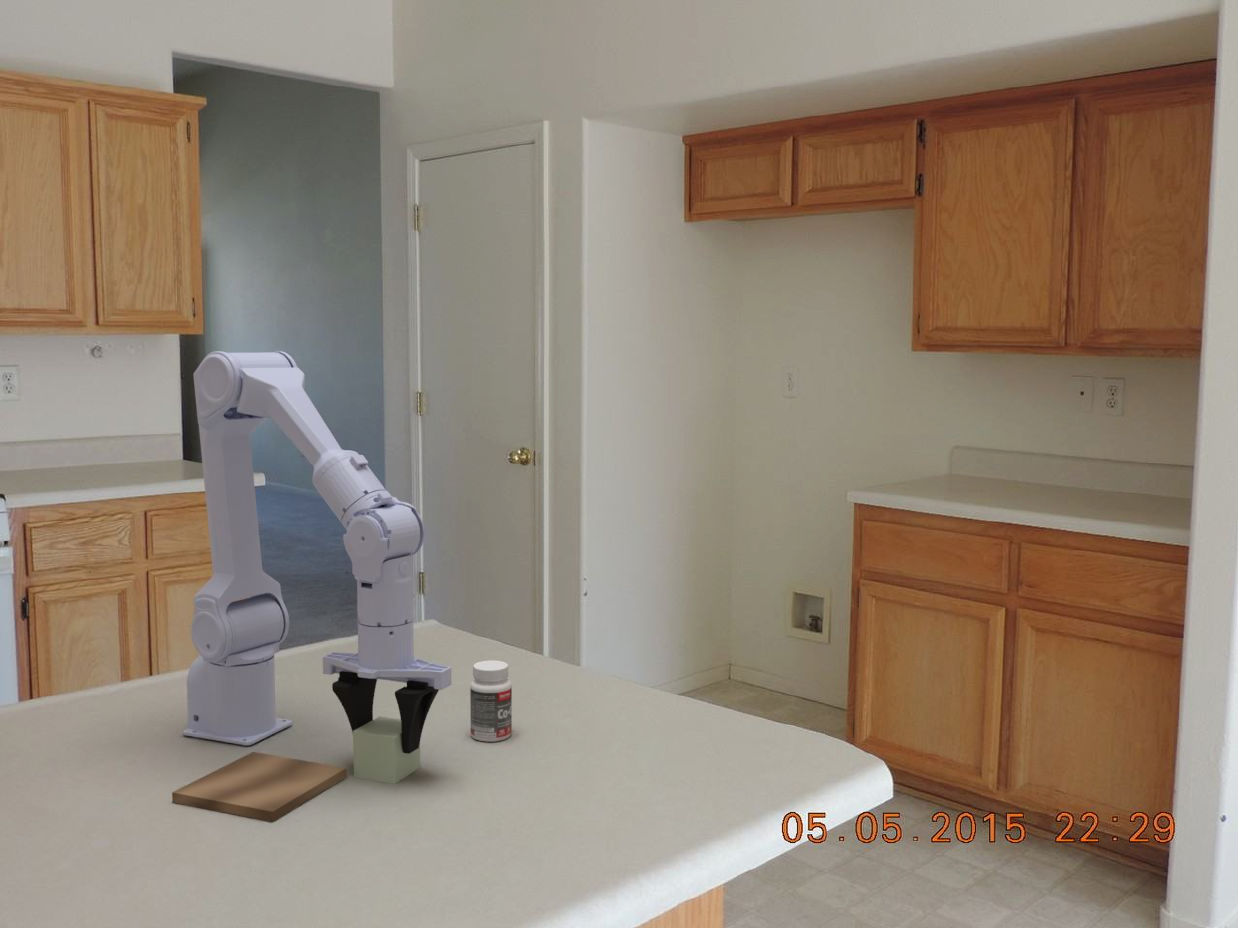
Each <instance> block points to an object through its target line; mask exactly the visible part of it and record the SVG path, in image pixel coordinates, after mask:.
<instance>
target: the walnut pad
mask: <svg viewBox="0 0 1238 928" xmlns="http://www.w3.org/2000/svg"><path fill="white" fill-rule="evenodd" d="M347 778H348V768H347V767H344V766H338V765H333V764H332V765H331V764H326V763H321V762H316V761H315V762H314V761H309V760H303V759H296V758H291V757H285V756H280V755H275V754H267V753H262V752H256V751H252V752H250V753H247V754H246V755H243V756H242V757H240V758H237V759H235V760H234V761H232V762H230V763H227V764H225V765H223V766H222V767H220V768H217V769H216V770H214V771H212V772H210V773H208V774H206V775H204V776H202V777H200V778H198V779H196V780H194V781H192V782H190V783H188V784H186V785H184V786H182V787H180V788H178V789H176V790H174V791H172V792H171V797H172V801H171V802H172V803H175V804H180V805H184V806H190V807H196V808H201V809H205V810H209V811H210V810H211V811H216V812H221V813H226V814H231V815H236V816H241V817H247V818H251V819H255V820H256V819H257V820H261V821H267V822H271V823H272V822H275V821H277V820H279V819H280V818H282V817H284V816H285V815H286V814H288V813H290V812H291V811H293V810H295V809H296V808H298V807H300V806H302V805H303V804H305V803H306V802H308V801H309V800H311V799H313V798H315V797H316V796H318V795H319V794H321V793H323V792H325V791H326V790H327V789H330V788H331V787H333V786H334V785H336V784H337V783H340V782H341V781H343V780H345V779H347Z"/></svg>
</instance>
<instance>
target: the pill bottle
mask: <svg viewBox="0 0 1238 928" xmlns="http://www.w3.org/2000/svg"><path fill="white" fill-rule="evenodd" d="M472 668H473V670H472V676H473V680H471V682H470V689H469V690H470V693H469V694H470V696H469V697H470V699H469V700H470V701H469V702H470V736H471V737H472V738H473V740H476V741H481V742H486V743H487V742H488V743H490V742H491V743H492V742H493V743H494V742H501V741H504V740H507V739H508V738H510V737H511V736H512V727H513V725H512V722H513V721H512V719H513V718H512V710H513V709H512V707H513V705H512V700H513V699H512V695H513V694H512V682H511V680H510V679H508V678H509V664H508V663H507V662H505V661H501V660H482V661H478V662H475V663H474V664H473V666H472Z"/></svg>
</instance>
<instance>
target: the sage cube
mask: <svg viewBox="0 0 1238 928" xmlns="http://www.w3.org/2000/svg"><path fill="white" fill-rule="evenodd" d="M352 748H353V750H352V751H353V755H352V756H353V777H355V778H360V779H367V780H372V781H376V782H382V783H383V782H385V783H389V784H390V783H391V784H396V783H398V782H400V781H401V780H402V779H404V778H406V777H408V776H409V775H410V774H412V773H414V771H416V770H417V769H420V768H421V743H420V744H419V748H418V749H416V750H415V751H413V752H411V753H410V754H407V753H403V749H402V726H401V718H400V719H399V718H395V717H393V718H392V717H386V716H378V717H375V718H373V720H372V721H370V722H369V723H367V724H365V725H363V726H361V727H359V728H358V729H356V730H354V731H353V733H352Z"/></svg>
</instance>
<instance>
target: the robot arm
mask: <svg viewBox="0 0 1238 928" xmlns="http://www.w3.org/2000/svg"><path fill="white" fill-rule="evenodd" d="M193 384H194V395H195V404H196V405H195V406H196V417H197V424H198V432H199V441H200V451H201V462H202V472H203V482H204V485H203V486H204V492H205V502H206V503H205V505H206V515H207V525H208V534H209V546H210V547H209V548H210V555H211V566H212V568H211V569H212V576H211V577H210V578H209V579H208V581H207V582H206V583H204V585H203V586H202V587H201V588H200V589H199V590H198V591H197V593H195V594H194V596H193V607H194V609H193V610H194V611H193V616H192V622H191V627H190V634H191V635H190V636H191V640H192V644H193V646H194V648H195V650H196V651H197V653H198V654H199V656H197V657H196V658H195V659H194V660H193V662H192V663H191V666H189V670H188V673H187V677H186V678H187V679H186V699H187V700H186V702H187V727H188V728H186V729H184V730H183V736H187V737H194V738H200V739H206V740H212V741H217V742H218V741H219V742H223V743H231V744H235V745H243V746H251V745H254V744H255V743H258V742H260V741H262V740H263V739H266V738H268V737H271V736H272V735H274V734H276V733H278V732H279V731H282V730H284V729H286V728H288V727H290V726H292V724H293V721H292V720H290V719H285V718H279V717H276V716H277V715H276V713H277V712H276V710H277V708H276V672H275V671H276V670H275V669H276V667H275V655H276V654H277V653H279V652H280V644H281V643H283V641H284V640H285V639H286V637H287V636H288V634H289V630H290V616H289V612H288V610H287V607H286V605H285V603H284V599H283V595H282V587H281V583H280V582H278V581H277V580H275V579H274V578H273V577H271V576H270V575H269V574H267V573H266V572H265V571H264V570H263V564H262V551H261V543H260V532H259V531H260V530H259V519H258V518H259V517H258V509H257V497H256V488H255V476H254V467H253V455H252V447H251V446H252V445H251V444H252V443H251V436H252V434H253V433H254V431H255V430H257V428H258V427H259V426H260V424H261V423H263V422H264V421H265V420H268V419H271V420H272V421H274V423H275V424H276V425H277V426H278V427H279V429H280V430H281V431H282V432H283V433H284V434H285V435H286V437H287V438H288V439H289V440H290V442H292V443H293V445H294V446H295V447H296V448H297V449H298V451H299V452H300V453H301V454H302V456H304V457H305V459H306V460H307V461H308V462H309V463H310V465H311V466H313V473H312V479H311V480H312V485H313V486H314V488H315V489H316V491H317V492H318V494H319V495H320V496H321V498H322V499H323V500H324V501H325V503H326V504H327V505H328V507H329V508H330V510H331V512H332V513H333V514H334V515H335V517H336V518H337V519H338V520H339V522H340V523H341V525H342V526H343V527H344V529H345V530H346V533H345V534H342V540H343V545H344V548H345V551H346V553H347V555H348V556H349V558H350V561H351V565H352V567H351V568H352V572H351V573H352V575H354V576H353V577H354V579H355V580H356V590H357V591H356V592H357V593H356V598H357V599H356V600H357V605H356V606H357V609H356V610H357V653H356V652H338V651H332V652H330V653H327V654H326V655H323V656H322V674H323V675H329V676H331V675H334V674H337V675H338V676H339V677H338V678H337V679H338V680H337V681H334V682H333V683H332V686H331V688H332V689H331V690H332V691H333V693H334V694H335V696H336V697H337V699H338V701H339V702H340V704H341V706H342V708H343V710H344V712H345V714H346V716H347V720H348V722H349V726H350V729H351V733H352V734H353V731H354V730H356V729H358V728H359V727H361V726H363V725H365V724H367V723H369V722H370V721H372V720H374V712H373V711H374V710H373V709H374V699H375V692H376V686H377V682H378V680H381V681H382V680H383V681H391V682H396V683H404V684H405V683H406V686H403V687H401V688H399V689H397V690H395V691H394V697H395V699H396V703H397V706H398V710H399V715H400V719H401V726H402V749H403V753H407V754H410V753H411V752H413V751H415V750H416V749H418V748H419V744H420V745H421V737H422V734H423V729H424V726H425V723H426V720H427V716H428V713H429V712H430V709H431V707H432V704H433V702H434V700H435V698H436V697H437V694H438V693H439V691H443V690H444V689H446V688H448V687H450V686H451V685H452V666H447V665H441V664H437V663H434V662H430V661H429V660H424V659H420V658H417V657H414V655H415V654H414V653H415V652H414V651H415V650H414V649H415V648H414V647H415V646H414V642H415V641H414V556H415V554H418V552H419V551H420V550H421V548H422V546H423V543H424V541H425V526H424V522H423V519H422V517H421V516H420V514H419V513H418V510H417V508H416V507H415V506H413V504H411V503H409V502H405V501H400V500H399V499H398V498H397V497H396V496H392V494H391V493H390V492H389V491H387V489H386V488H385V487H384V485H383V484H382V483H381V481H380V480H379V479H378V478H377V476H376V475H375V473H374V472H373V470H372V469H371V468H370V467H369V466H368V465H369V461H368V460H367V459H366V457H365V456H364V455H363V454H359V452H357V451H354V450H350V449H349V450H347V449H346V450H345V449H342V447H341V446H340V445H339V443H338V441H337V440H336V438H335V436H334V435H333V434H332V433H333V432H331V430H330V429H329V427H328V426H327V424H326V422H325V421H324V419H323V417H322V416H321V414H320V413H319V411H318V410H317V408H316V406H315V405H314V404H313V402H312V400H311V399H310V397H309V396H308V394H307V392H306V391H305V389H306V388H305V386H306V376H305V373H304V371H302V370H301V369H300V368H299V367H298V365H297V363H296V361H295V360H294V358H293V357H292V356H291V355H290V354H288V353H287V352H285V351H282V350H273V351H271V352H269V351H268V352H266V351H265V352H262V351H261V352H249V351H248V352H225V351H220V350H217V351H216V350H215V351H212V352H210V353H208V354H206V356H205V357H204V358H203V360H202V361H201V362H200V364H199V365H198V366H197V368H196V370H195V371H194V372H193Z"/></svg>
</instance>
